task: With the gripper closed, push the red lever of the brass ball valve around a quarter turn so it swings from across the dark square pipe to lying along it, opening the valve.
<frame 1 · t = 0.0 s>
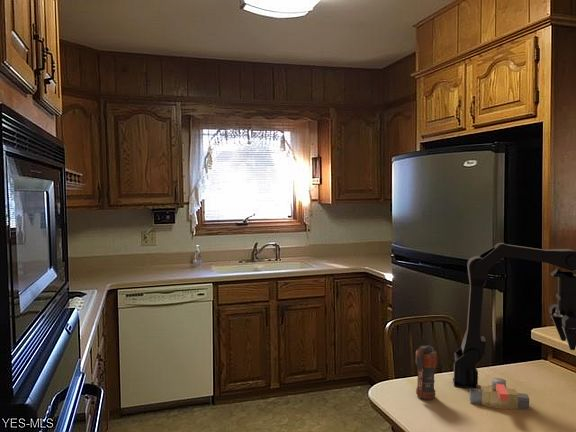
hand: (567, 345, 142), 15 cm above the table, tool pointing down, fingers open, 9 cm apart
lever: (501, 389, 131), point 6 cm above the table, hinge at 0.0°
valve pipe: (498, 404, 135), on the table
grenade: (424, 398, 140), on the table
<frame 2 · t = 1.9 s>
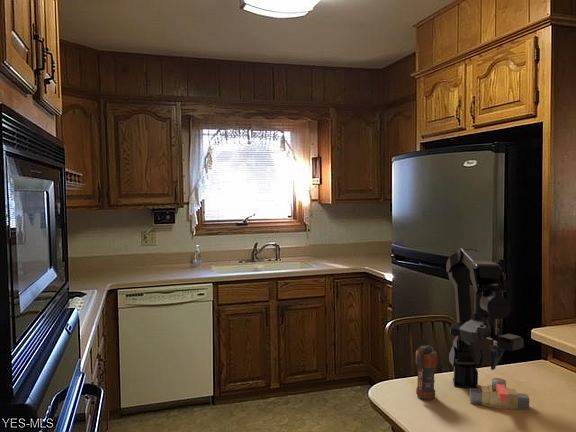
hand: (484, 366, 131), 12 cm above the table, tool pointing down, fingers open, 5 cm apart
nothing on the table moved.
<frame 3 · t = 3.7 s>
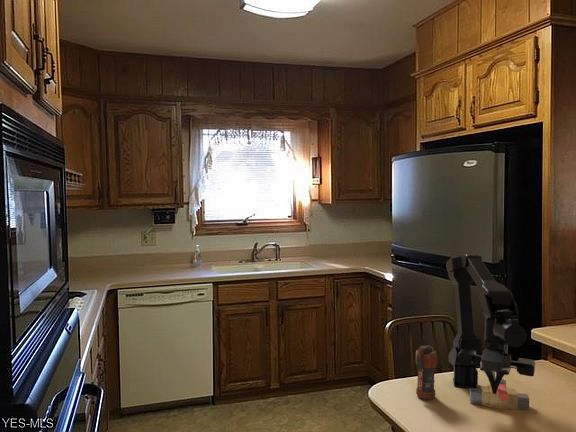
hand: (494, 393, 129), 5 cm above the table, tool pointing down, fingers closed
lever: (501, 389, 131), point 6 cm above the table, hinge at 0.0°, touching gripper
everything else where it was.
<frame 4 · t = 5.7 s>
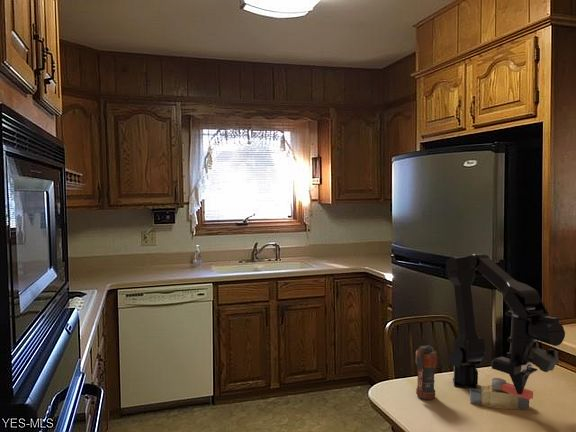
hand: (519, 393, 129), 6 cm above the table, tool pointing down, fingers closed
lever: (511, 388, 132), point 6 cm above the table, hinge at 50.9°, touching gripper
everything else where it was.
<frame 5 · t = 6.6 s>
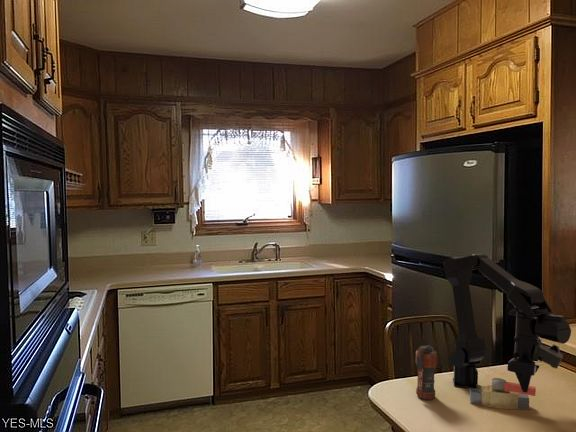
hand: (524, 391, 130), 6 cm above the table, tool pointing down, fingers closed
lever: (513, 386, 133), point 6 cm above the table, hinge at 74.5°, touching gripper
everything else where it was.
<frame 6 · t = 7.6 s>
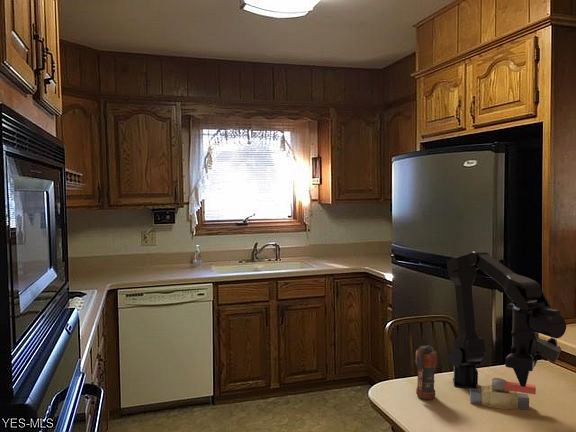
hand: (523, 386, 128), 8 cm above the table, tool pointing down, fingers closed
lever: (513, 386, 133), point 6 cm above the table, hinge at 82.4°
everything else where it was.
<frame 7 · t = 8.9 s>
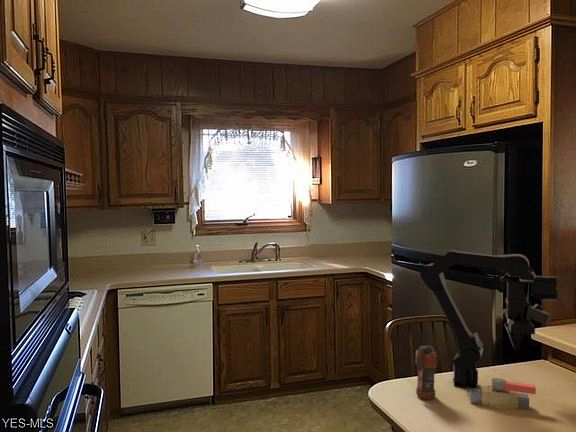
hand: (516, 349, 143), 13 cm above the table, tool pointing down, fingers closed
nothing on the table moved.
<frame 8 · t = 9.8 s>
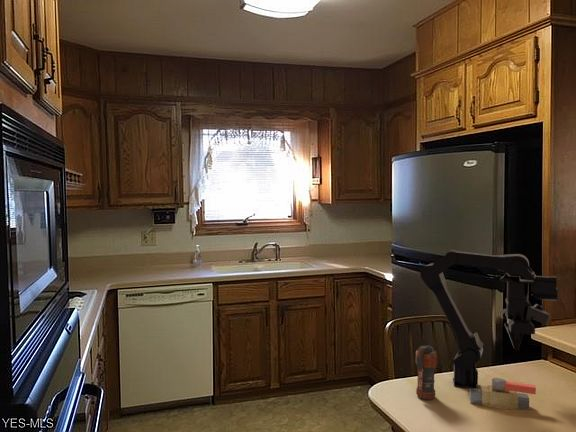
hand: (516, 349, 143), 13 cm above the table, tool pointing down, fingers closed
nothing on the table moved.
at the end: lever at +83° (first picture: +0°) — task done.
